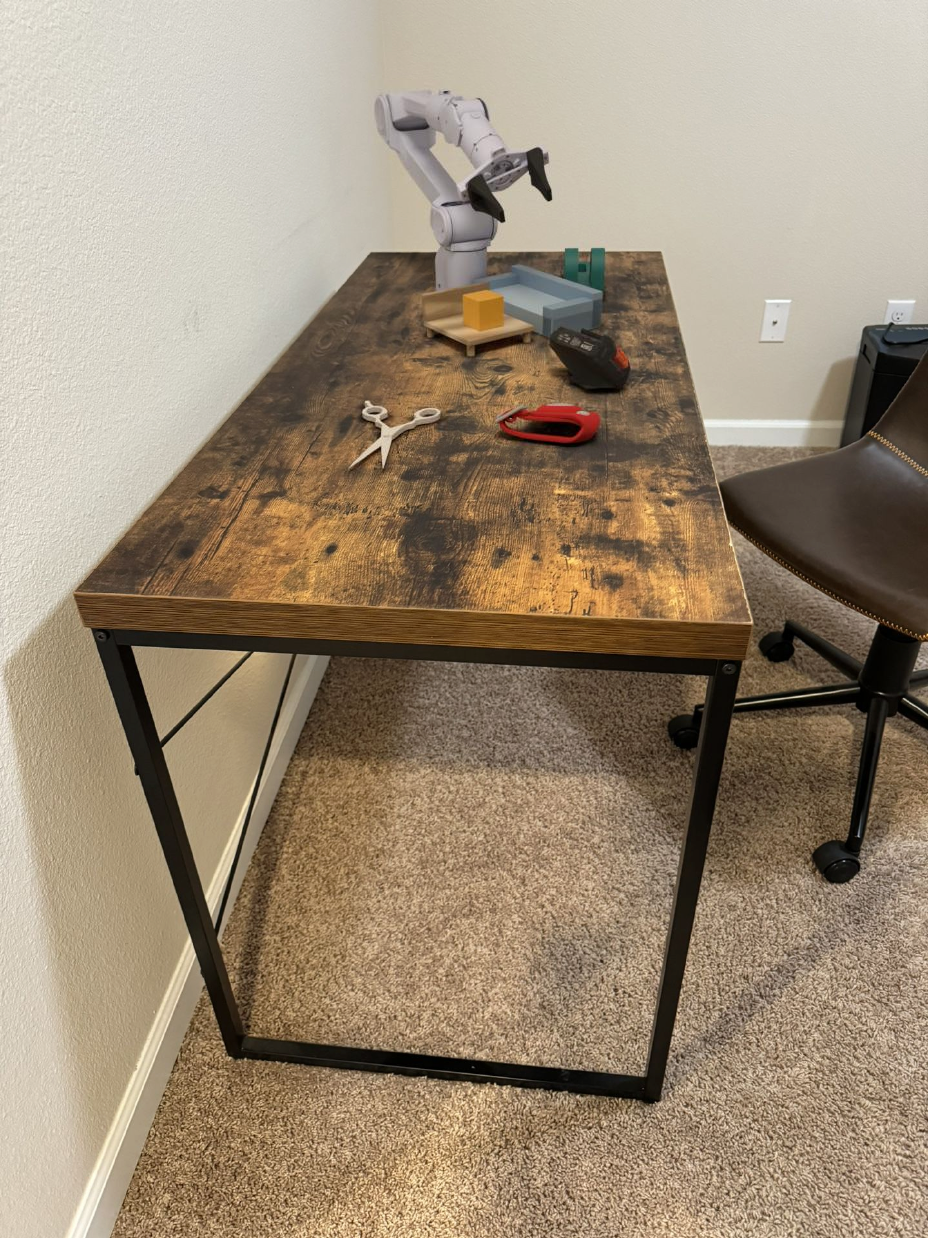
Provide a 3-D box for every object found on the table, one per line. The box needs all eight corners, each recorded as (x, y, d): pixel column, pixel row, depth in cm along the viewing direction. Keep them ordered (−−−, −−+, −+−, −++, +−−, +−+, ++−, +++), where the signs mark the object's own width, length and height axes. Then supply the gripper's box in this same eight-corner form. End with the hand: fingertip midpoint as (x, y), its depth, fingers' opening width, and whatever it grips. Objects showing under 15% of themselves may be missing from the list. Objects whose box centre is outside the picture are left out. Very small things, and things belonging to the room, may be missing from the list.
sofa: (472, 306, 157) (471, 273, 154) (519, 296, 162) (519, 264, 158) (551, 338, 142) (552, 302, 139) (600, 326, 146) (602, 291, 143)
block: (463, 324, 141) (462, 294, 138) (487, 318, 143) (486, 289, 140) (479, 331, 138) (479, 301, 135) (503, 325, 140) (503, 295, 137)
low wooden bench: (423, 336, 145) (421, 293, 141) (486, 321, 150) (485, 280, 146) (469, 357, 136) (468, 313, 132) (534, 341, 141) (534, 298, 137)
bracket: (602, 300, 158) (605, 252, 154) (563, 300, 159) (565, 253, 154) (598, 273, 173) (601, 229, 168) (562, 273, 173) (564, 229, 169)
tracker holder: (559, 401, 117) (617, 404, 110) (558, 436, 119) (615, 441, 111) (486, 403, 110) (543, 406, 103) (486, 440, 111) (541, 446, 104)
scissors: (444, 403, 119) (410, 469, 103) (444, 409, 119) (411, 475, 103) (365, 400, 120) (320, 464, 104) (366, 406, 121) (320, 470, 105)
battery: (611, 409, 122) (644, 369, 122) (580, 367, 117) (615, 326, 117) (559, 391, 131) (590, 354, 131) (529, 351, 126) (561, 313, 126)
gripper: (440, 149, 136) (477, 203, 130) (528, 109, 137) (568, 161, 131) (449, 189, 143) (484, 242, 136) (532, 151, 143) (571, 202, 137)
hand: (526, 206), depth 134 cm, fingers open, 7 cm apart
